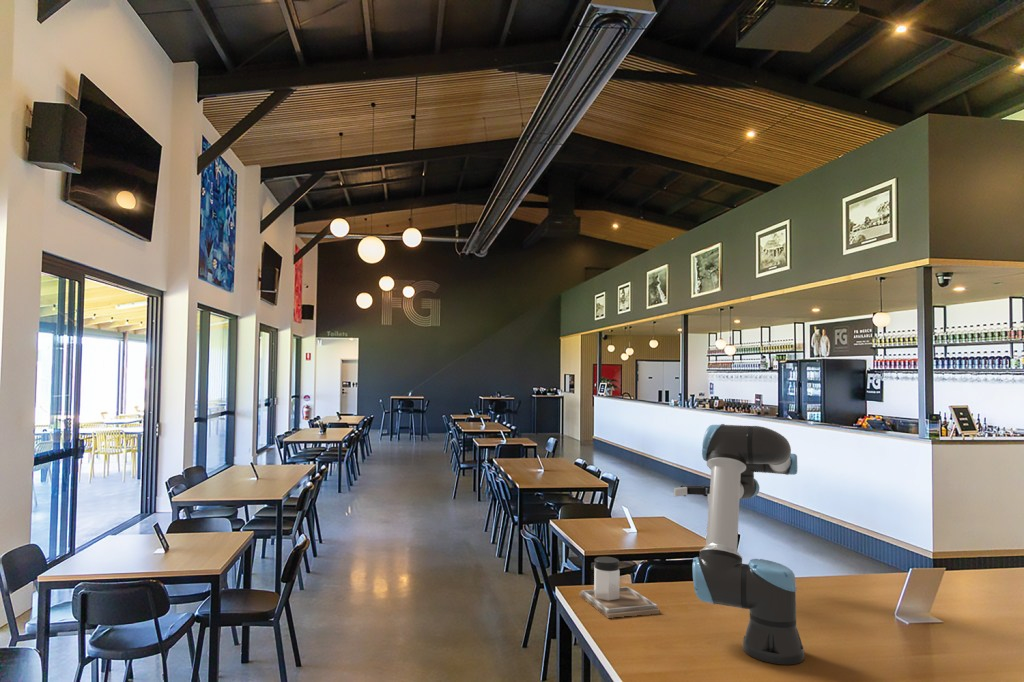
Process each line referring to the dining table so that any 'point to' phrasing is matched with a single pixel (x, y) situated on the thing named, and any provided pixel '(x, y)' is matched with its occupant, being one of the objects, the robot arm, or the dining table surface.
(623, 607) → the tray
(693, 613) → the dining table surface
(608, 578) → the jar
